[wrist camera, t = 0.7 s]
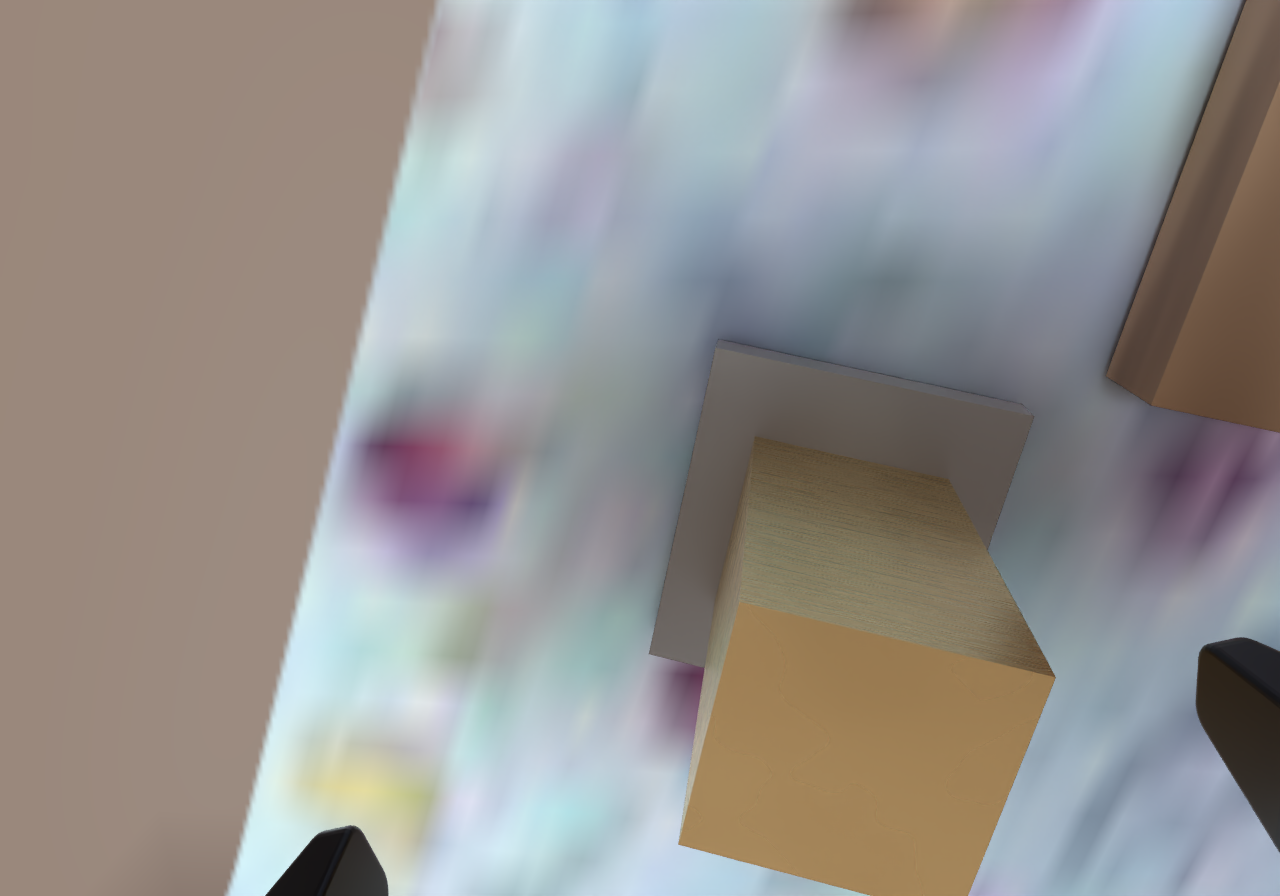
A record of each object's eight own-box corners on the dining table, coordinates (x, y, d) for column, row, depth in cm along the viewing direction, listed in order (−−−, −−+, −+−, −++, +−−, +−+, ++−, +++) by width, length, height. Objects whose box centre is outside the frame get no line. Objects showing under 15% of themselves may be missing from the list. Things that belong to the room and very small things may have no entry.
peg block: (948, 479, 19) (1056, 678, 12) (894, 647, 21) (958, 918, 13) (754, 436, 20) (739, 602, 12) (714, 603, 21) (678, 844, 14)
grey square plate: (1022, 404, 20) (1034, 415, 19) (920, 699, 22) (926, 723, 21) (718, 339, 20) (715, 347, 19) (654, 634, 23) (649, 653, 22)
